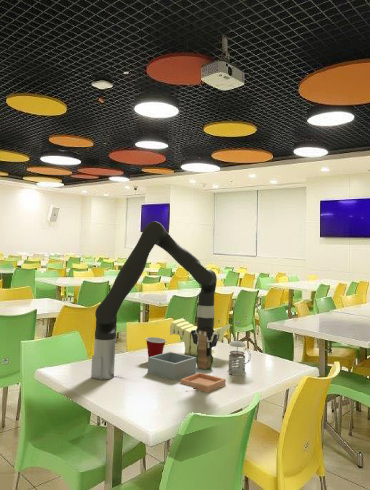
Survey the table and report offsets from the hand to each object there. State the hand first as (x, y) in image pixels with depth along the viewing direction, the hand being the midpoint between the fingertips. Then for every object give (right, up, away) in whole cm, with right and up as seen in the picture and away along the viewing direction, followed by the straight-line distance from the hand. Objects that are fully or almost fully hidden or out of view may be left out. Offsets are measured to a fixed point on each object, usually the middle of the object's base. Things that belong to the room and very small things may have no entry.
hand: (204, 355), depth 177 cm
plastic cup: (-24, -13, +34) cm, 43 cm away
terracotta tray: (0, -13, 0) cm, 13 cm away
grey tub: (-14, -13, +13) cm, 23 cm away
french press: (+17, -14, +20) cm, 30 cm away
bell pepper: (+1, -14, +23) cm, 27 cm away
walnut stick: (0, -5, 0) cm, 5 cm away
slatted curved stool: (0, -14, +55) cm, 56 cm away
